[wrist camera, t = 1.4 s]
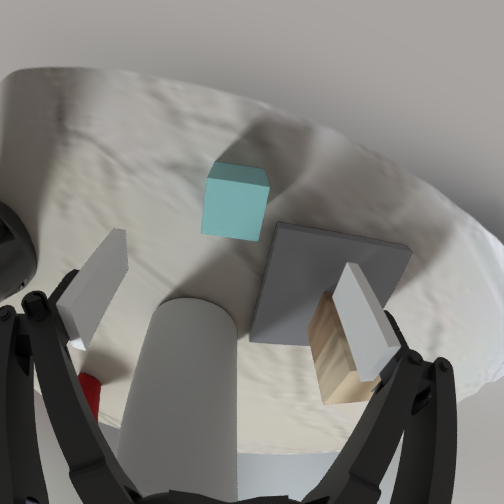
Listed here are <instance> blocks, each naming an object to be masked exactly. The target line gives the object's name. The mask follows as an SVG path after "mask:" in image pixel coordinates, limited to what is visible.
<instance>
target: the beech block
mask: <svg viewBox="0 0 504 504" xmlns="http://www.w3.org/2000/svg"><path fill="white" fill-rule="evenodd" d="M314 365H315V369H316V374H317V378H318V383H319V388H320V392H321V397H322V402H323V405H327V404H341V403H352V402H361V401H369V400H370V399H371V397H372V395H373V393H374V391H375V390H374V391H373V392H371V390H372V389H373V388H374V387H375V386H376V385H377V384H378V383H379V382H380V380H381V378H380V375H378V376H377V377H376V378H375V379H374V381H366V382H361V381H360V378H359V374H358V371H357V368H356V365H355V362H354V359H353V356H352V353H351V350H350V347H349V344H348V341H347V338H346V335H345V332H344V329H343V327H335V329H334V330H333V332H332V334H331V336H330V338H329V340H328V341H327V343H326V345H325V347H324V348H323V350H322V352H321V354H320V355H319V357H318V359H317V361H316V362H315V364H314Z"/></svg>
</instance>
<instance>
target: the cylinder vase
mask: <svg viewBox="0 0 504 504" xmlns="http://www.w3.org/2000/svg"><path fill="white" fill-rule="evenodd" d="M115 458H116V459H117V461H118V463H119V464H120V466H121V468H122V469H123V471H124V472H125V474H126V475H127V476H128V477H129V479H130V480H131V481H132V482H133V484H134V485H135V486H136V488H137V489H138V491H139V492H140V493H141V495H142V496H143V498H144V497H146V496H149V495H152V494H156V493H162V492H169V489H170V490H176V491H182V492H189V493H197V494H201V495H204V496H207V497H211V498H214V499H217V500H221V501H225V502H237V501H238V494H237V328H236V325H235V323H234V321H233V319H232V318H231V317H230V315H229V314H228V313H227V312H226V311H224V310H223V309H222V308H220V307H219V306H217V305H215V304H213V303H211V302H208V301H205V300H201V299H196V298H178V299H173V300H170V301H167V302H165V303H163V304H162V305H160V306H159V307H158V308H157V309H156V310H155V312H154V313H153V315H152V318H151V321H150V324H149V327H148V330H147V333H146V336H145V339H144V342H143V346H142V349H141V352H140V355H139V359H138V362H137V366H136V369H135V373H134V376H133V380H132V383H131V387H130V391H129V395H128V399H127V403H126V407H125V411H124V415H123V419H122V423H121V428H120V432H119V437H118V442H117V446H116V452H115Z"/></svg>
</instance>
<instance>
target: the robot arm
mask: <svg viewBox="0 0 504 504" xmlns="http://www.w3.org/2000/svg"><path fill="white" fill-rule="evenodd" d="M127 271H128V258H127V245H126V230H122V229H115V228H114V229H113V230H112V231H111V233H110V234H109V235H108V236H107V237H106V238H105V240H104V241H103V242H102V243H101V244H100V246H99V247H98V248H97V249H96V251H95V252H94V253H93V254H92V256H91V257H90V258H89V259H88V261H87V262H86V263H85V264H84V266H83V267H82V268H81V270H76V269H74V270H72V271H71V272H69V273H68V274H66V276H65V277H64V278H63V279H62V282H60V283H59V285H58V287H56V289H55V290H54V292H53V293H52V294H51V296H50V297H49V298H48V299H47V297H46V294H45V293H44V292H42V291H38V290H37V291H32V292H30V293H28V294H27V295H25V296H24V298H23V299H22V303H21V305H22V308H23V310H24V312H25V314H17V313H16V311H15V309H14V307H13V306H11V305H5V306H2V307H1V308H0V504H49V500H48V493H47V489H46V484H45V480H44V475H43V471H42V466H41V460H40V455H39V448H38V442H37V433H36V424H35V411H34V363H35V368H36V373H37V377H38V381H39V385H40V389H41V393H42V396H43V400H44V403H45V406H46V409H47V413H48V416H49V419H50V421H51V424H52V427H53V430H54V432H55V435H56V438H57V440H58V443H59V445H60V448H61V450H62V452H63V455H64V457H65V459H66V461H67V463H68V466H69V469H70V471H69V477H70V480H71V482H72V484H73V486H74V488H75V490H76V492H77V493H78V495H79V497H80V499H81V500H82V502H83V504H377V502H378V500H379V498H380V496H381V490H380V489H379V484H380V482H381V480H382V478H383V477H384V474H385V472H386V471H387V468H388V466H389V464H390V462H391V460H392V458H393V456H394V453H395V451H396V448H397V446H398V444H399V441H400V439H401V436H402V434H403V431H404V437H403V444H402V450H401V457H400V462H399V467H398V472H397V477H396V481H395V485H394V490H393V493H392V497H391V501H390V504H451V501H452V494H453V487H454V479H455V469H456V454H457V409H456V393H455V382H454V373H453V367H452V365H451V363H450V362H449V361H448V360H447V359H445V358H443V357H438V358H437V359H436V360H435V361H434V362H433V363H431V362H427V361H424V360H423V358H422V356H421V355H420V354H419V353H418V352H417V351H414V350H411V349H409V347H408V345H407V343H406V341H405V339H404V337H403V335H402V333H401V331H400V329H399V327H398V325H397V323H396V321H395V319H394V317H393V316H392V315H391V314H390V313H389V312H388V311H387V310H383V309H382V307H381V305H380V303H379V301H378V299H377V297H376V296H375V294H374V292H373V290H372V288H371V286H370V285H369V283H368V281H367V279H366V277H365V276H364V274H363V272H362V270H361V269H360V267H359V265H358V264H356V263H349V262H347V263H346V266H345V268H344V271H343V273H342V275H341V278H340V280H339V282H338V285H337V287H336V289H335V291H334V294H333V296H332V298H333V301H334V304H335V306H336V309H337V312H338V315H339V318H340V320H341V323H342V326H343V329H344V332H345V335H346V338H347V341H348V344H349V347H350V350H351V353H352V356H353V359H354V362H355V365H356V368H357V371H358V374H359V378H360V381H361V382H366V381H374V379H375V378H376V377H377V376H378V375H380V378H381V380H380V382H379V383H378V384H377V385H376V386H375V387H374V388H373V389H372V390H371V392H373V391H374V390H375V391H374V393H373V395H372V397H371V399H370V401H369V403H368V405H367V407H366V409H365V411H364V413H363V414H362V416H361V418H360V420H359V422H358V424H357V425H356V427H355V429H354V431H353V432H352V434H351V436H350V437H349V439H348V441H347V442H346V444H345V446H344V447H343V449H342V450H341V452H340V454H339V455H338V457H337V458H336V460H335V461H334V463H333V464H332V466H331V467H330V469H329V470H328V472H327V473H326V475H325V476H324V477H323V479H322V480H321V481H320V483H319V484H318V485H317V486H316V487H315V488H314V489H313V490H312V491H311V492H309V493H308V494H307V495H306V496H305V498H304V499H303V500H302V501H301V502H299V501H296V500H292V499H288V495H285V496H266V497H256V498H252V499H247V500H242V501H237V502H225V501H221V500H217V499H214V498H211V497H207V496H204V495H201V494H197V493H189V492H182V491H176V490H170V489H169V492H162V493H156V494H152V495H149V496H146V497H144V498H143V496H142V495H141V493H140V492H139V491H138V489H137V488H136V486H135V485H134V484H133V482H132V481H131V480H130V479H129V477H128V476H127V475H126V474H125V472H124V471H123V469H122V468H121V466H120V464H119V463H118V461H117V459H116V458H115V456H114V454H113V452H112V451H111V449H110V447H109V445H108V443H107V442H106V440H105V438H104V436H103V434H102V432H101V430H100V428H99V426H98V424H97V422H96V420H95V418H94V416H93V413H92V411H91V409H90V407H89V404H88V402H87V400H86V397H85V395H84V393H83V390H82V388H81V385H80V382H79V380H78V377H77V374H76V372H75V369H74V366H73V363H72V360H71V357H70V354H69V351H68V348H67V346H66V345H67V343H68V341H69V339H70V342H71V344H72V346H73V347H75V348H78V349H81V350H84V351H86V350H87V348H88V346H89V343H90V341H91V339H92V337H93V335H94V333H95V331H96V329H97V327H98V325H99V323H100V321H101V319H102V317H103V315H104V313H105V311H106V309H107V307H108V305H109V303H110V302H111V300H112V298H113V296H114V294H115V292H116V290H117V289H118V287H119V285H120V283H121V281H122V280H123V278H124V276H125V274H126V273H127ZM35 272H36V257H35V252H34V248H33V245H32V242H31V240H30V237H29V235H28V233H27V231H26V229H25V227H24V226H23V224H22V222H21V221H20V219H19V218H18V217H17V216H16V214H15V213H14V212H13V211H12V210H11V209H10V208H9V207H7V206H6V205H4V204H3V203H0V302H2V301H3V300H5V299H7V298H8V297H10V296H12V295H14V294H15V293H17V292H19V291H21V290H22V289H24V288H25V287H26V286H27V285H28V284H29V282H30V281H31V280H32V279H33V277H34V275H35Z"/></svg>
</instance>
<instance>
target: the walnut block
mask: <svg viewBox="0 0 504 504" xmlns="http://www.w3.org/2000/svg"><path fill="white" fill-rule="evenodd" d="M333 294H334V293H332V292H323V294H322V296H321V298H320V301H319V303H318V305H317V308H316V310H315V312H314V314H313V317H312V319H311V321H310V323H309V325H308V328H307V334H308V338H309V342H310V347H311V351H312V356H313V360H314V364H315V362H316V361H317V359H318V357H319V355H320V354H321V352H322V350H323V348H324V347H325V345H326V343H327V341H328V340H329V338H330V336H331V334H332V332H333V330H334V329H335V327H343V326H342V323H341V320H340V318H339V315H338V312H337V309H336V306H335V304H334V301H333V298H332V296H333Z"/></svg>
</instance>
